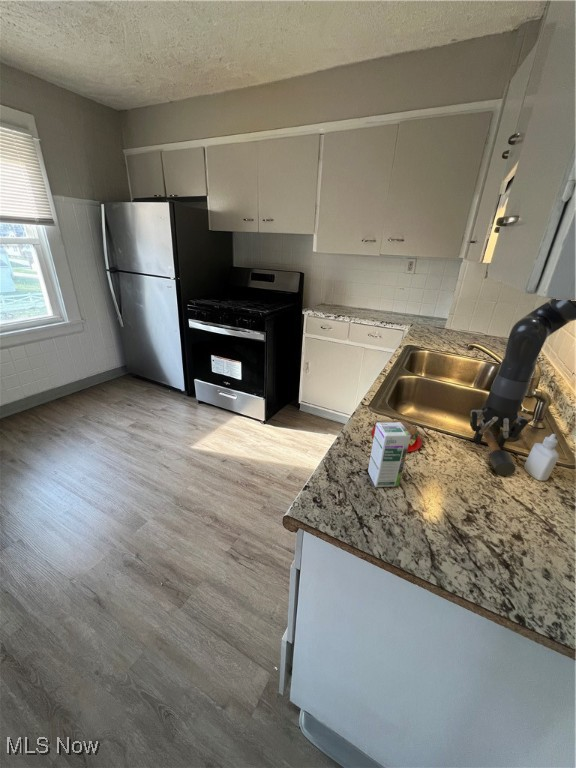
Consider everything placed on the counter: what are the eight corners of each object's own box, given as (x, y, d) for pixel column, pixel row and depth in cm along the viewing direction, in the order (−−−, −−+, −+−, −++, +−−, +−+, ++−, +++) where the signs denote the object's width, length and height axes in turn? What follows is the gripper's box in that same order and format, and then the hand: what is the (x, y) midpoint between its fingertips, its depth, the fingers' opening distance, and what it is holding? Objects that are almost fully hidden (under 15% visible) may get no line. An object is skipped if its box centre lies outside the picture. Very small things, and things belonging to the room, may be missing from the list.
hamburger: (378, 419, 100) (382, 403, 97) (425, 433, 93) (430, 416, 91) (365, 441, 88) (368, 423, 86) (417, 459, 82) (422, 440, 80)
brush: (512, 477, 77) (493, 441, 90) (518, 464, 75) (498, 429, 88) (492, 474, 78) (476, 438, 91) (498, 460, 76) (481, 426, 89)
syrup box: (375, 488, 72) (386, 436, 66) (367, 470, 78) (376, 421, 71) (398, 487, 73) (412, 435, 67) (389, 469, 78) (400, 420, 72)
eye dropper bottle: (526, 477, 78) (545, 437, 72) (522, 464, 82) (540, 426, 77) (547, 483, 76) (569, 443, 71) (542, 470, 81) (562, 431, 75)
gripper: (481, 393, 80) (462, 448, 87) (545, 402, 77) (520, 458, 84) (473, 382, 87) (457, 433, 94) (532, 389, 83) (510, 442, 91)
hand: (487, 444), depth 89 cm, fingers open, 4 cm apart
